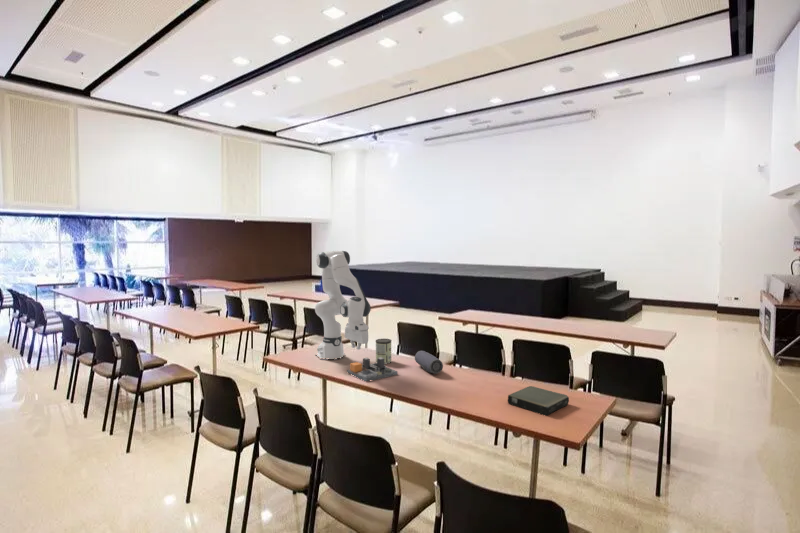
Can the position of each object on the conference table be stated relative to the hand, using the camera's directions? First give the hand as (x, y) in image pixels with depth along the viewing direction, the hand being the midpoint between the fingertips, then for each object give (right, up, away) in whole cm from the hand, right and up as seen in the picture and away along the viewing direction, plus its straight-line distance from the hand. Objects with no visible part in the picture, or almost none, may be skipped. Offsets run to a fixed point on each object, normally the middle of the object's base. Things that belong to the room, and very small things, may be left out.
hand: (356, 348), depth 264 cm
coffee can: (+15, -14, +27) cm, 34 cm away
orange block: (0, -13, +1) cm, 13 cm away
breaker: (+14, -13, +5) cm, 20 cm away
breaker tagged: (+6, -13, +5) cm, 15 cm away
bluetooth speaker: (+43, -15, +8) cm, 46 cm away
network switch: (+93, -19, -47) cm, 106 cm away
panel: (+10, -15, 0) cm, 18 cm away
